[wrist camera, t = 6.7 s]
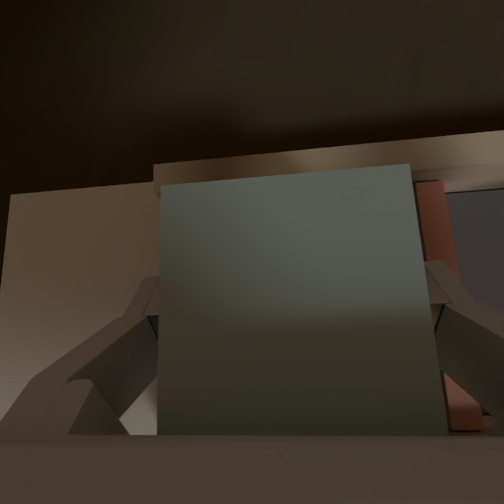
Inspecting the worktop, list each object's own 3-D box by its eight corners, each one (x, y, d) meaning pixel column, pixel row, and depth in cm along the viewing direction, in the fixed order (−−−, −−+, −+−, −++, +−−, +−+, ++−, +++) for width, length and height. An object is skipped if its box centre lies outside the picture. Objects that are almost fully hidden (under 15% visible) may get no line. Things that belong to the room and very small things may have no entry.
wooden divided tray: (179, 443, 13) (147, 483, 10) (180, 192, 15) (153, 164, 12) (657, 447, 11) (792, 499, 8) (582, 157, 13) (667, 114, 10)
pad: (-10, 453, 14) (-19, 458, 13) (17, 197, 16) (10, 194, 16) (179, 456, 13) (175, 460, 12) (180, 182, 15) (177, 179, 15)
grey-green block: (234, 363, 13) (156, 446, 5) (231, 252, 14) (160, 185, 6) (351, 361, 13) (451, 449, 5) (340, 245, 14) (409, 163, 6)
